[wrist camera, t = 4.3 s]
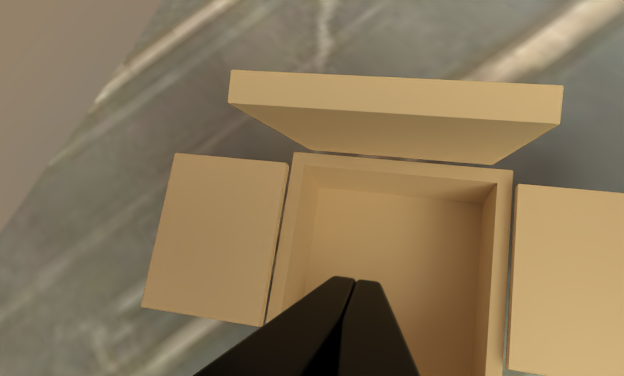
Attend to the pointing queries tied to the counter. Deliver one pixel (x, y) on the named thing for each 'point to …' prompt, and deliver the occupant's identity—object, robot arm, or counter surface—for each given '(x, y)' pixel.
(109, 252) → the counter surface
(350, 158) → the carton
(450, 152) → the back flap
